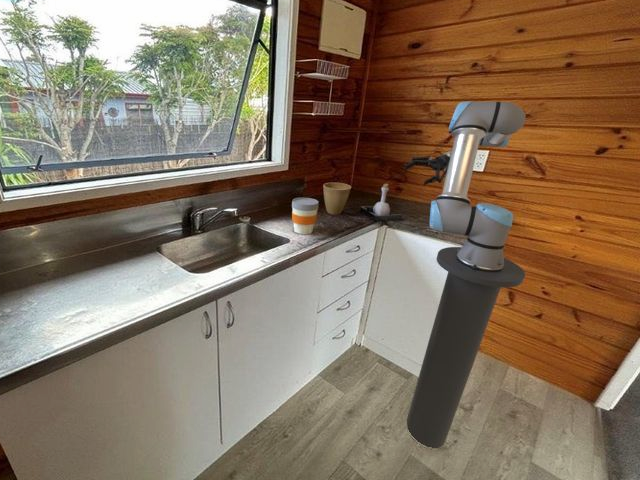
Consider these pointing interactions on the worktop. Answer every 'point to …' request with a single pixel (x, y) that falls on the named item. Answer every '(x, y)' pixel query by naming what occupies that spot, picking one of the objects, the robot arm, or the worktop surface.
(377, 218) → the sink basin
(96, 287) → the worktop surface
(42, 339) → the worktop surface
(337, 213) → the plant pot
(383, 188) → the potion bottle
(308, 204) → the reusable coffee cup
